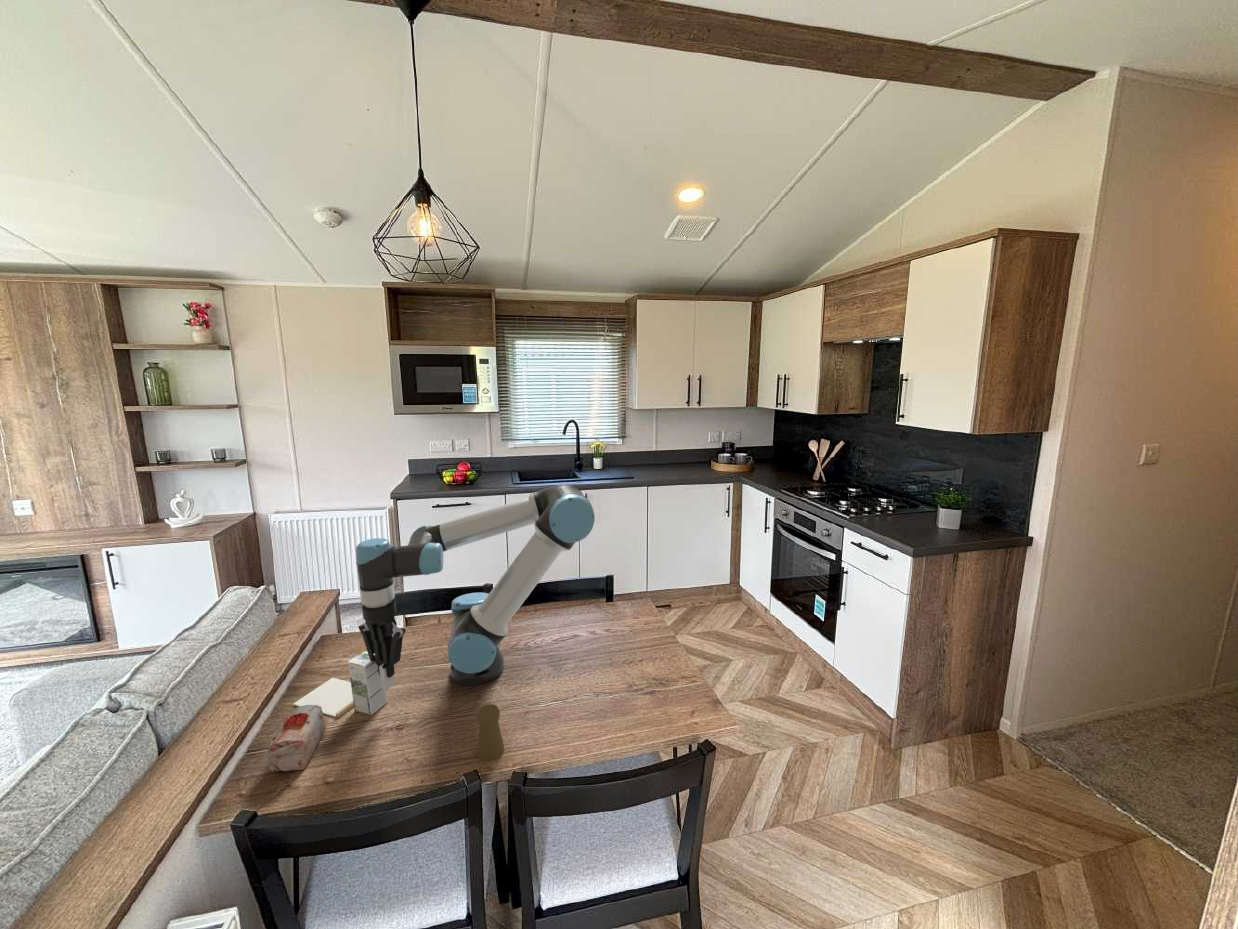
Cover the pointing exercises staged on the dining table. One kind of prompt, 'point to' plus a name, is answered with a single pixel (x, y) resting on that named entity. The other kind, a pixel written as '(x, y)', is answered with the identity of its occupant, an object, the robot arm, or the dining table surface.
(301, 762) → the food item
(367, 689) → the syrup box
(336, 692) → the trivet
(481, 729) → the olive green shaker
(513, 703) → the dining table surface
